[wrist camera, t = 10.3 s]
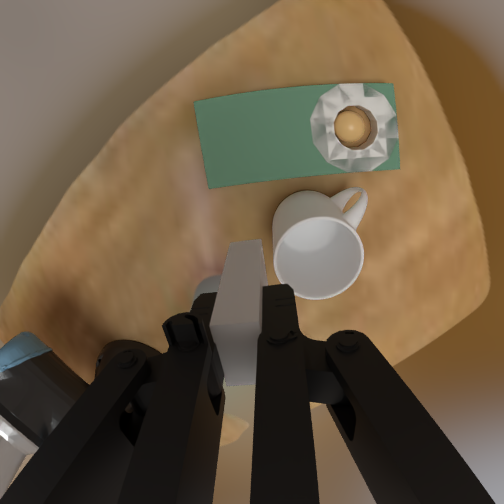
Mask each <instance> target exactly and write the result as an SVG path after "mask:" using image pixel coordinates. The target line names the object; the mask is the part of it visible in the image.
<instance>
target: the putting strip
mask: <svg viewBox="0 0 504 504" xmlns="http://www.w3.org/2000/svg"><path fill="white" fill-rule="evenodd" d="M347 106H355V107H357V108H359V109H361V110H363V111H364V112H365V113H366V115H367V116H368V118H369V119H370V124H371V133H370V135H369V137H368V139H367V141H366V142H365V143H363V144H362V145H360V146H359V147H352V148H347V147H345V146H343V145H342V144H341V143H340V142H339V140H338V139H337V137H336V136H335V131H334V121H335V119H336V116H337V114H338V112H339V111H341V110H342V109H344V108H345V107H347ZM194 108H195V114H196V120H197V126H198V131H199V137H200V143H201V149H202V154H203V160H204V166H205V171H206V177H207V182H208V188H209V189H212V188H219V187H226V186H233V185H240V184H247V183H255V182H263V181H271V180H280V179H288V178H297V177H307V176H317V175H328V174H339V173H351V172H364V171H378V170H395V169H400V157H399V139H398V125H397V114H396V104H395V95H394V87H393V83H351V84H326V85H311V86H298V87H287V88H278V89H269V90H261V91H253V92H246V93H240V94H233V95H227V96H221V97H216V98H210V99H205V100H200V101H195V102H194Z"/></svg>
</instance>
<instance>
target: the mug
mask: <svg viewBox="0 0 504 504" xmlns="http://www.w3.org/2000/svg"><path fill="white" fill-rule="evenodd" d="M359 191H360V192H361V196H360V198H359V200H358V201H357V202H356V203H355V204H354V205H353V206H352V207H351V208H350V209H349V210H348V211H346V212H345V213H344V214H343V212H342V210H343V208H344V206H345V205H346V203H347V202H348V200H349V199H350V198H351V196H352V195H354V194H355V193H356V192H359ZM367 202H368V197H367V193H366V191H365V190H364V189H362V188H360V187H352V188H348V189H345V190H343V191H341V192H339V193H337V194H336V195H334V196H332V197H331V198H329V197H328V196H326V195H324V194H322V193H320V192H317V191H309V190H307V191H300V192H296V193H294V194H292V195H290V196H288V197H287V198H286V199H284V200H283V201H282V202H281V204H280V205H279V206H278V208H277V210H276V212H275V214H274V217H273V224H272V233H273V263H274V270H275V273H276V276H277V278H278V280H279V281H280V283H281V284H288V285H289V286H290V287H292V288H293V289H294V295H296V296H299V297H301V298H305V299H311V300H320V299H327V298H330V297H333V296H336V295H338V294H340V293H342V292H343V291H345V290H346V289H347V288H348V287H350V286H351V285H352V284H353V282H354V281H355V280H356V278H357V277H358V275H359V273H360V271H361V269H362V265H363V261H364V249H363V245H362V242H361V239H360V237H359V236H358V234H357V232H356V229H357V227H358V225H359V223H360V221H361V219H362V217H363V215H364V213H365V210H366V207H367Z"/></svg>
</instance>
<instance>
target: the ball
mask: <svg viewBox="0 0 504 504" xmlns="http://www.w3.org/2000/svg"><path fill="white" fill-rule="evenodd" d="M334 131H335V134H336V136H337V137H338V138H339V139H341V140H343V141H345V142H355V141H357V140H359V139H360V138H361V137H362V136H363V134H364V132H365V123H364V121H363V119H362V117H361V116H360V115H359V114H357V113H355V112H353V111H343V112H341V113H339V114H338V115H337V116H336V119H335V121H334Z"/></svg>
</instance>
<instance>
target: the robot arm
mask: <svg viewBox="0 0 504 504" xmlns="http://www.w3.org/2000/svg"><path fill="white" fill-rule="evenodd" d="M191 309H192V310H191V311H190V312H185V313H180V314H177V315H174V316H172V317H170V318H169V319H167V320H166V321H165V322H164V323H163V325H162V328H163V330H164V333H165V336H166V338H167V341H168V344H169V348H168V351H167V352H166V353H163V354H160V353H159V352H158V351H156V350H154V349H153V348H151V347H149V346H146V345H144V344H141V343H138V342H134V341H128V340H118V341H114V342H111V343H109V344H107V345H106V346H105V347H104V348H103V350H102V351H101V353H100V355H99V356H98V359H97V362H96V370H95V378H94V381H93V382H92V383H91V384H90V385H89V384H88V383H86V382H85V381H84V380H83V379H82V378H81V377H80V376H78V375H77V374H76V373H75V372H74V371H73V370H72V369H71V368H70V367H68V366H67V365H66V364H65V363H64V362H63V361H62V360H61V359H60V358H59V357H58V356H57V355H56V354H55V353H54V352H53V351H52V349H51V348H50V347H48V346H46V345H45V344H44V343H43V342H42V341H41V340H40V339H39V338H38V337H37V336H36V335H34V334H33V333H31V332H22V333H20V334H18V335H17V336H15V337H14V338H13V339H11V340H10V341H9V342H8V343H6V344H5V345H4V346H3V347H2V348H1V349H0V504H212V502H213V493H214V485H215V477H216V469H217V461H218V453H219V445H220V437H221V429H222V421H223V413H224V405H225V392H224V389H223V380H224V378H225V382H226V385H227V386H235V385H236V386H237V385H252V384H256V389H255V411H254V433H253V454H252V473H251V494H250V504H320V503H319V492H318V480H317V470H316V459H315V449H314V439H313V430H312V421H311V412H310V403H309V402H316V403H323V404H326V406H327V408H328V410H329V412H330V414H331V416H332V418H333V420H334V422H335V424H336V426H337V428H338V430H339V432H340V434H341V436H342V438H343V439H344V441H345V443H346V445H347V447H348V449H349V451H350V453H351V455H352V457H353V459H354V461H355V463H356V465H357V466H358V469H359V471H360V472H361V474H362V476H363V478H364V480H365V482H366V484H367V486H368V488H369V490H370V492H371V494H372V495H373V498H374V500H375V501H376V503H377V504H495V502H494V501H493V500H492V498H491V497H490V495H489V494H488V492H487V491H486V490H485V488H484V487H483V485H482V484H481V483H480V481H479V480H478V479H477V477H476V476H475V474H474V473H473V472H472V470H471V469H470V468H469V466H468V465H467V464H466V462H465V461H464V459H463V458H462V457H461V455H460V454H459V453H458V451H457V450H456V449H455V447H454V446H453V445H452V443H451V442H450V441H449V439H448V438H447V437H446V435H445V434H444V433H443V431H442V430H441V429H440V427H439V426H438V425H437V424H436V422H435V421H434V420H433V418H432V417H431V416H430V414H429V413H428V412H427V410H426V409H425V408H424V407H423V405H422V404H421V403H420V401H419V400H418V399H417V398H416V396H415V395H414V394H413V393H412V391H411V390H410V389H409V387H408V386H407V385H406V384H405V383H404V381H403V380H402V379H401V378H400V376H399V375H398V374H397V372H396V371H395V370H394V369H393V367H392V366H391V365H390V364H389V362H388V361H387V360H386V359H385V357H384V356H383V355H382V354H381V353H380V351H379V350H378V349H377V348H376V346H375V345H374V344H373V343H372V342H371V340H370V339H369V338H368V337H367V336H366V335H365V334H363V333H361V332H358V331H356V330H343V331H338V332H336V333H334V334H332V335H331V336H330V337H329V338H328V339H327V341H318V340H313V339H310V338H307V337H306V336H304V335H303V334H302V333H301V331H300V329H299V323H298V316H297V309H296V303H295V296H294V289H293V288H292V287H290V286H289V285H288V284H279V285H270V286H268V282H267V275H266V268H265V261H264V254H263V247H262V241H261V239H255V240H247V241H239V242H231V243H230V245H229V249H228V253H227V257H226V261H225V265H224V269H223V273H222V277H221V281H220V285H219V289H218V292H213V293H203V294H200V296H199V297H198V298H197V299H196V300H195V301H194V303H193V305H192V308H191ZM29 454H34V455H33V457H32V458H31V459H30V460H29V462H28V463H27V464H26V466H25V467H24V468H23V470H22V471H21V472H20V473H19V475H18V476H17V478H16V479H15V480H14V481H13V483H12V484H11V485H10V483H11V481H12V480H13V478H14V476H15V474H16V472H17V471H18V469H19V467H20V466H21V464H22V462H23V460H24V459H25V457H26V456H27V455H29ZM9 485H10V487H9ZM8 487H9V488H8ZM6 490H7V491H6Z"/></svg>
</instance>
